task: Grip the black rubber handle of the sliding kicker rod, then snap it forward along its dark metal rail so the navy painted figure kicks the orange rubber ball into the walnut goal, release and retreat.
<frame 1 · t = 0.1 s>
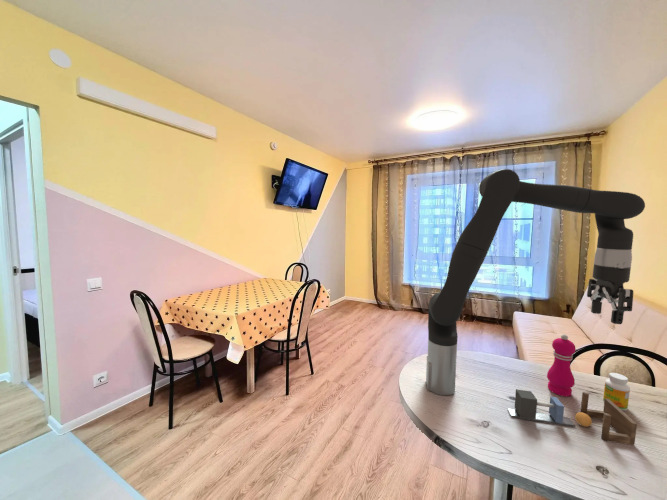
hand: (605, 318, 80), 29 cm above the table, fingers open, 8 cm apart
goal: (606, 428, 76), on the table
ball: (583, 419, 77), point 2 cm above the table
supplement bottle: (614, 405, 85), on the table
kicker rod: (538, 405, 80), point 4 cm above the table, slide at 0.0 cm
rail: (540, 418, 80), on the table
pepper mill: (559, 391, 93), on the table
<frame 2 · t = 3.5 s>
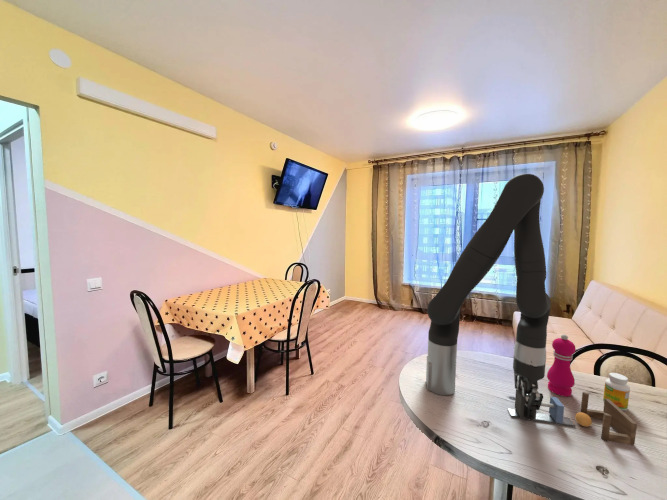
hand: (525, 412, 81), 1 cm above the table, fingers closed on kicker rod, 4 cm apart
kicker rod: (538, 405, 80), point 4 cm above the table, slide at 0.0 cm, touching gripper
everything else where it was.
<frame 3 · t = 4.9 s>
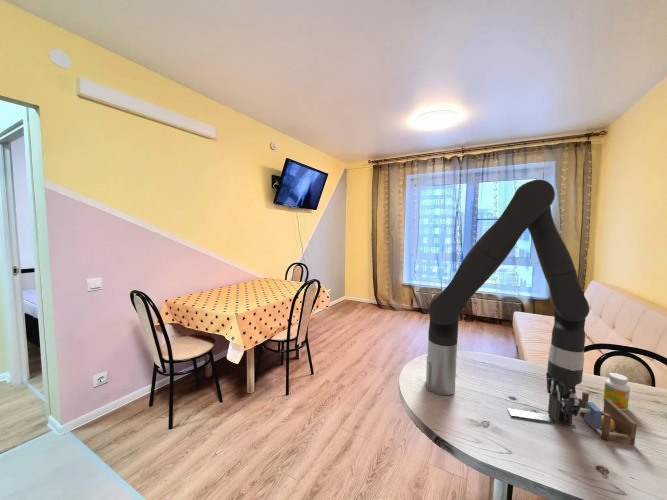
hand: (559, 417, 78), 1 cm above the table, fingers closed on kicker rod, 4 cm apart
ball: (606, 422, 76), point 2 cm above the table, tilted 160°
kicker rod: (574, 410, 77), point 4 cm above the table, slide at 8.8 cm, touching gripper
everything else where it was.
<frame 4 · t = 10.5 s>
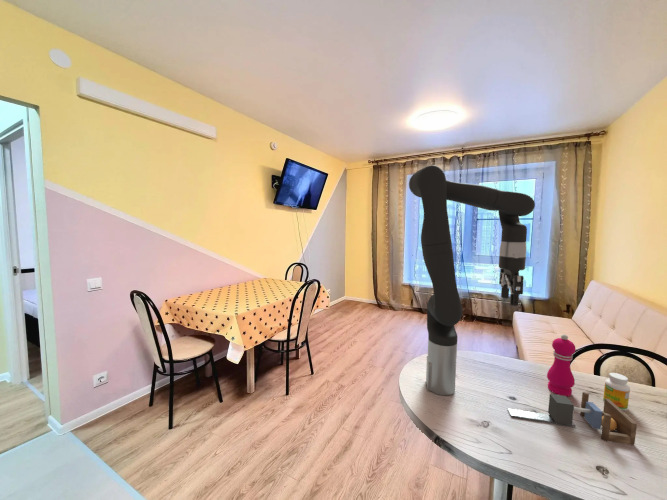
hand: (509, 301, 93), 30 cm above the table, fingers open, 8 cm apart
ball: (608, 423, 75), point 2 cm above the table, tilted 172°
kicker rod: (574, 410, 77), point 4 cm above the table, slide at 8.8 cm
everything else where it was.
at the end: ball inside the target area (0.0 cm from its centre), point 1.7 cm above the table; kicker rod slide at 8.8 cm; the gripper is holding nothing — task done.
